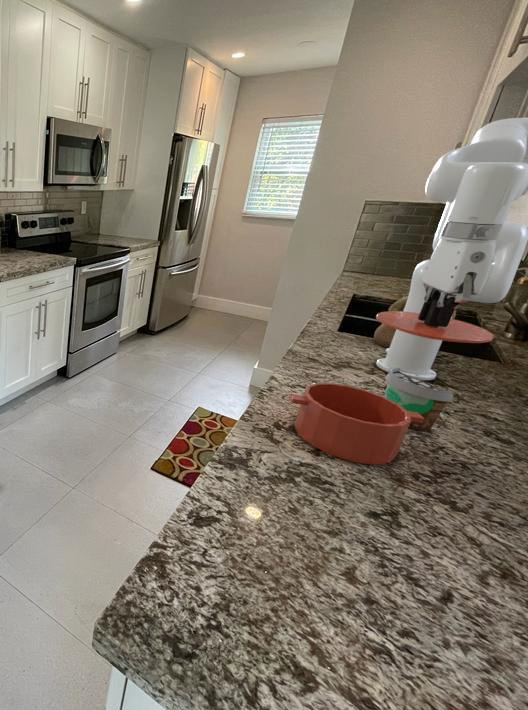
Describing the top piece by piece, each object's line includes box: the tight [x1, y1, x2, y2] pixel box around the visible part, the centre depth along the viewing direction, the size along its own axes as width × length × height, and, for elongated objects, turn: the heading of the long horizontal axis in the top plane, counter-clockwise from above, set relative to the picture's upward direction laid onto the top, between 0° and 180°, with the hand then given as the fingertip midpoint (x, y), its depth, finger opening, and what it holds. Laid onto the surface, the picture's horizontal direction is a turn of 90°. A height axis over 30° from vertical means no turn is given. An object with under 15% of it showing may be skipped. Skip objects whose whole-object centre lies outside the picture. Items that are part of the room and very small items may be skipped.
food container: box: [384, 368, 454, 431], centre depth 90 cm, size 12×6×10 cm, turn 5°
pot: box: [288, 382, 424, 465], centre depth 83 cm, size 17×22×8 cm
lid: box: [375, 300, 495, 344], centre depth 84 cm, size 18×18×6 cm
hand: (432, 322), depth 85 cm, fingers closed on lid, 2 cm apart
